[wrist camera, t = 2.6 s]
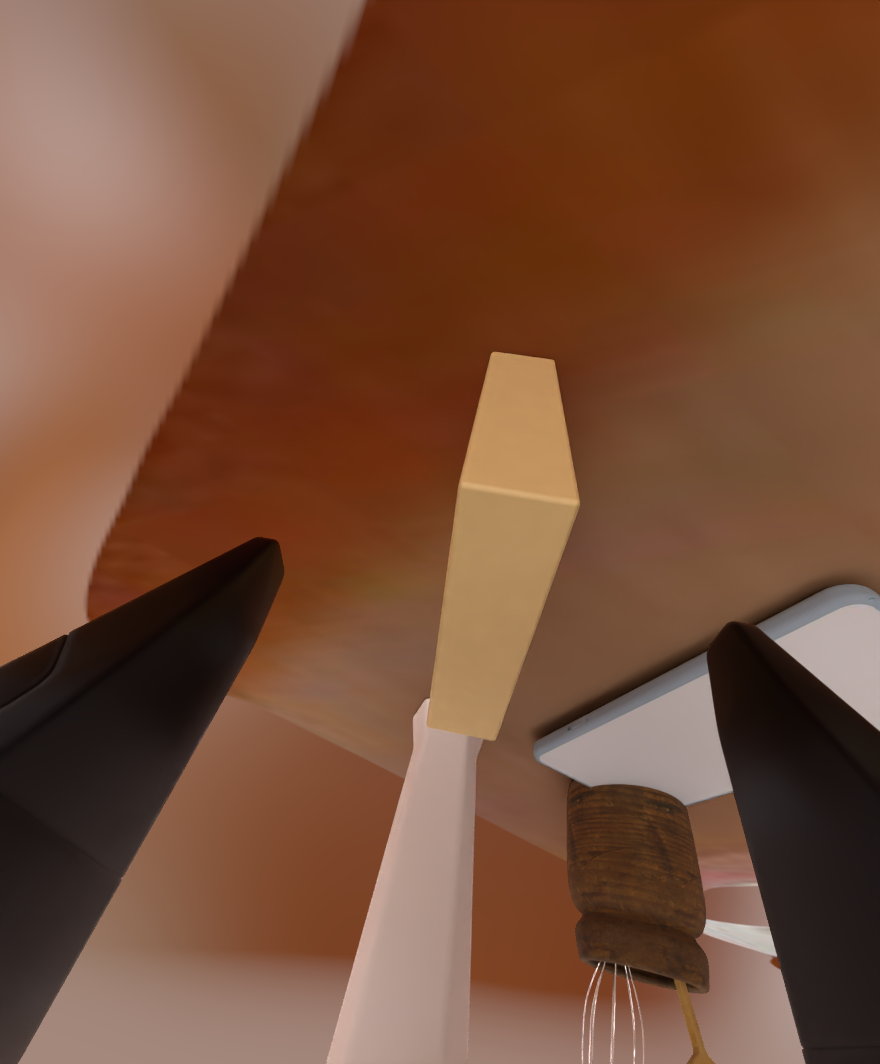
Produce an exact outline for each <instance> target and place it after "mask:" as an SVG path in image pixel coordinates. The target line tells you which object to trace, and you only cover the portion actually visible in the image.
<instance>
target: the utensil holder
mask: <svg viewBox="0 0 880 1064" xmlns="http://www.w3.org/2000/svg"><path fill="white" fill-rule="evenodd" d="M567 870H568V882H569V889H570V894H571V897H572V900H573V902H574V904H575V906H576V908H577V909H578V910H579V911H580V912H581V913H582V914H583V915H582V918H581V919H580V920H579V921H578V923H577V925H576V929H575V930H576V931H575V933H576V941H577V947H578V953H579V958H580V959H581V960H582V961H583V962H584V963H586V964H588V965H590V966H592V967H595V968H596V970H595V973H594V976H595V974H596V971H597V969H600V970H601V973H600V976H599V979H598V983H597V987H596V991H595V995H594V1000H593V1005H592V1012H591V1021H590V1039H589V1064H590V1042H591V1023H592V1013H593V1006H594V1014H593V1031H592V1064H593V1032H594V1016H595V1006H596V999H597V993H598V989H599V985H600V981H601V977H602V973H603V971H606V972H608V973H612V974H614V981H613V983H614V984H615V993H614V984H613V1004H612V1005H613V1006H612V1029H611V1057H610V1064H613V1061H614V1032H615V1031H614V1029H615V995H616V975H618V976H621V977H625V978H626V979H627V985H628V990H629V997H630V1003H631V1010H632V1019H633V1032H634V1064H635V1022H634V1011H633V1003H632V997H631V991H630V986H629V980H628V979H632V983H633V980H635V981H639V982H643V983H647V984H651V985H655V986H660V987H664V988H668V989H673V990H677V992H678V996H679V1000H680V1003H681V1007H682V1010H683V1014H684V1017H685V1021H686V1025H687V1028H688V1032H689V1035H690V1039H691V1042H692V1046H693V1055H692V1057H691V1058H690V1060H689V1061H688V1063H687V1064H715V1063H714V1062H713V1061H712V1060H711V1058H710V1057H709V1056H708V1054H707V1052H706V1050H705V1048H704V1044H703V1041H702V1037H701V1034H700V1031H699V1027H698V1024H697V1021H696V1017H695V1014H694V1010H693V1007H692V1004H691V1000H690V997H689V993H688V992H691V993H707V992H709V965H708V960H707V956H706V954H705V953H704V951H703V950H702V948H701V947H700V946H699V945H698V943H697V942H696V940H695V938H698V937H699V936H700V935H701V934H702V933H703V931H704V928H705V923H706V907H705V899H704V892H703V886H702V881H701V875H700V870H699V865H698V860H697V854H696V849H695V844H694V839H693V834H692V829H691V825H690V820H689V816H688V813H687V810H686V807H685V806H684V804H683V803H682V802H681V801H680V800H678V799H677V798H676V797H674V796H672V795H670V794H668V793H665V792H663V791H660V790H657V789H653V788H649V787H644V786H637V785H627V784H609V785H599V786H593V787H588V786H586V785H584V784H582V783H580V782H578V781H576V780H574V781H573V782H572V783H571V784H570V787H569V790H568V797H567ZM594 976H593V978H592V981H593V979H594ZM592 981H591V983H590V987H591V984H592ZM590 987H589V990H588V993H587V997H586V1002H585V1009H586V1003H587V998H588V994H589V991H590ZM633 987H634V983H633ZM634 991H635V987H634ZM596 992H597V993H596ZM635 994H636V991H635ZM595 996H596V998H595ZM636 999H637V994H636ZM594 1001H595V1005H594ZM637 1003H638V999H637ZM613 1007H614V1028H613ZM638 1007H639V1003H638ZM585 1009H584V1016H583V1034H582V1064H583V1035H584V1018H585ZM639 1012H640V1008H639ZM640 1018H641V1012H640ZM641 1024H642V1033H643V1064H644V1032H643V1023H642V1018H641ZM612 1034H613V1059H612Z"/></svg>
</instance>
